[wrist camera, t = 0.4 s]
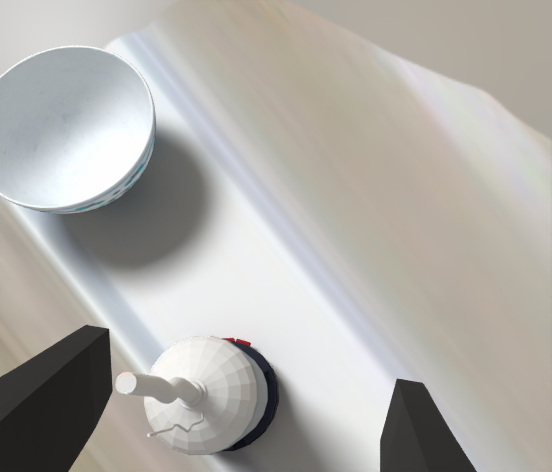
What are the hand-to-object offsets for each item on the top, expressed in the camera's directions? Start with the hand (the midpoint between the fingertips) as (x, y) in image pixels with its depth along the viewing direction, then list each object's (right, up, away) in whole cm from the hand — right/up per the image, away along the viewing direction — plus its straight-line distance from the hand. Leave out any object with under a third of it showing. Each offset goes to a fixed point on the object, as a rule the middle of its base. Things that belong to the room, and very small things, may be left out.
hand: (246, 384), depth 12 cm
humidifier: (-3, -9, +28) cm, 30 cm away
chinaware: (-16, +10, +35) cm, 40 cm away
